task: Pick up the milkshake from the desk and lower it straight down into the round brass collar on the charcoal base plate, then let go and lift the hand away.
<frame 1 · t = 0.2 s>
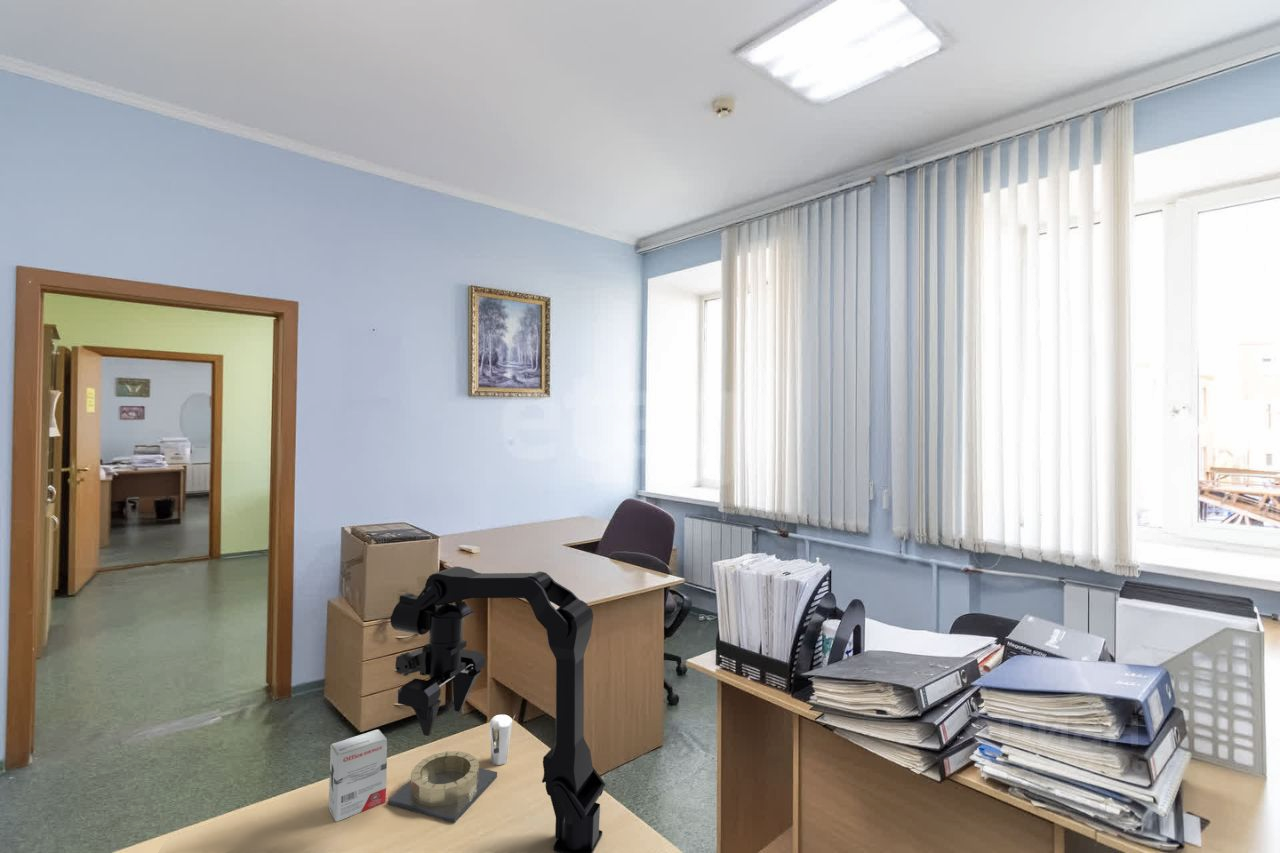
hand: (442, 722, 107), 14 cm above the table, tool pointing down, fingers open, 9 cm apart
ink box: (357, 806, 105), on the table
collar station: (444, 790, 110), on the table
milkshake: (501, 762, 120), on the table
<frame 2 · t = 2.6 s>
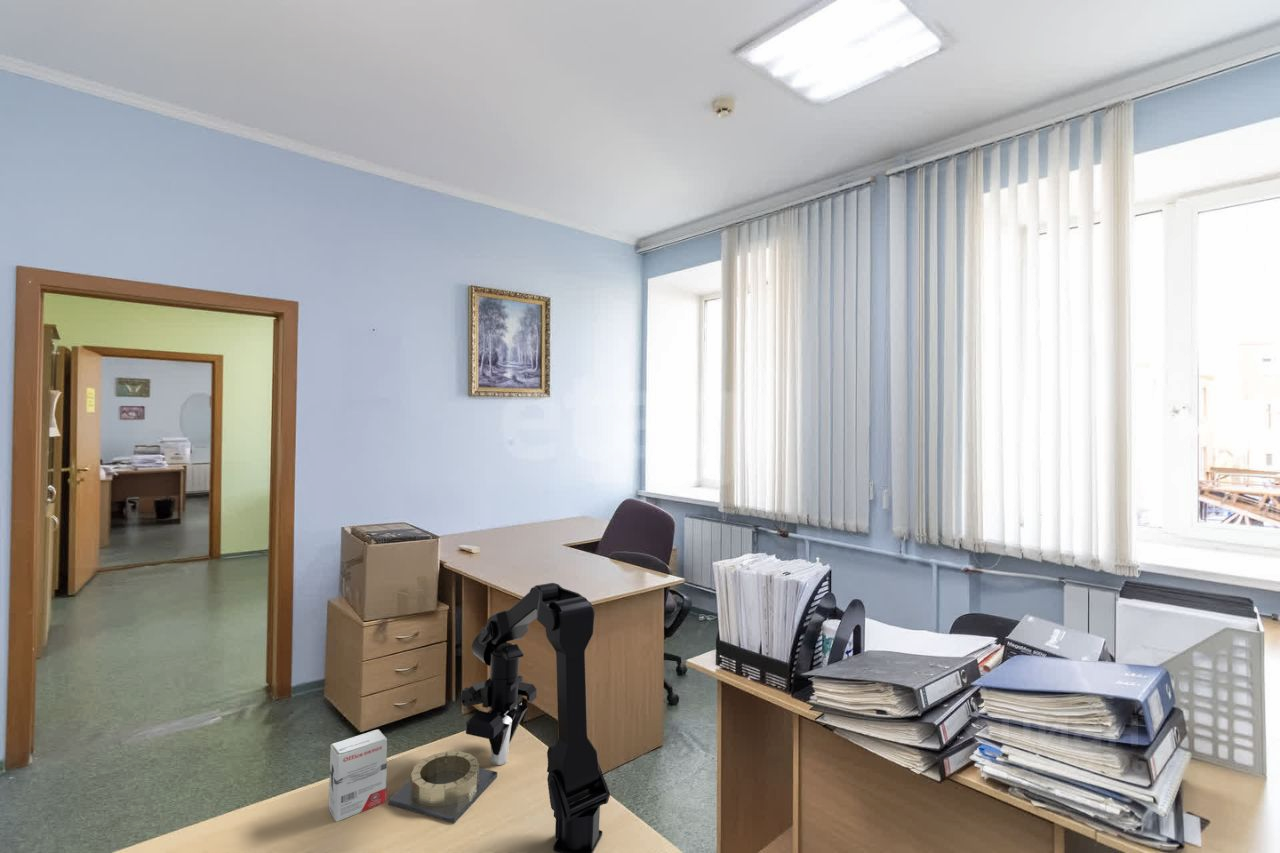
hand: (501, 749, 120), 3 cm above the table, tool pointing down, fingers closed on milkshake, 4 cm apart
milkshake: (501, 762, 120), on the table, touching gripper
everything else where it was.
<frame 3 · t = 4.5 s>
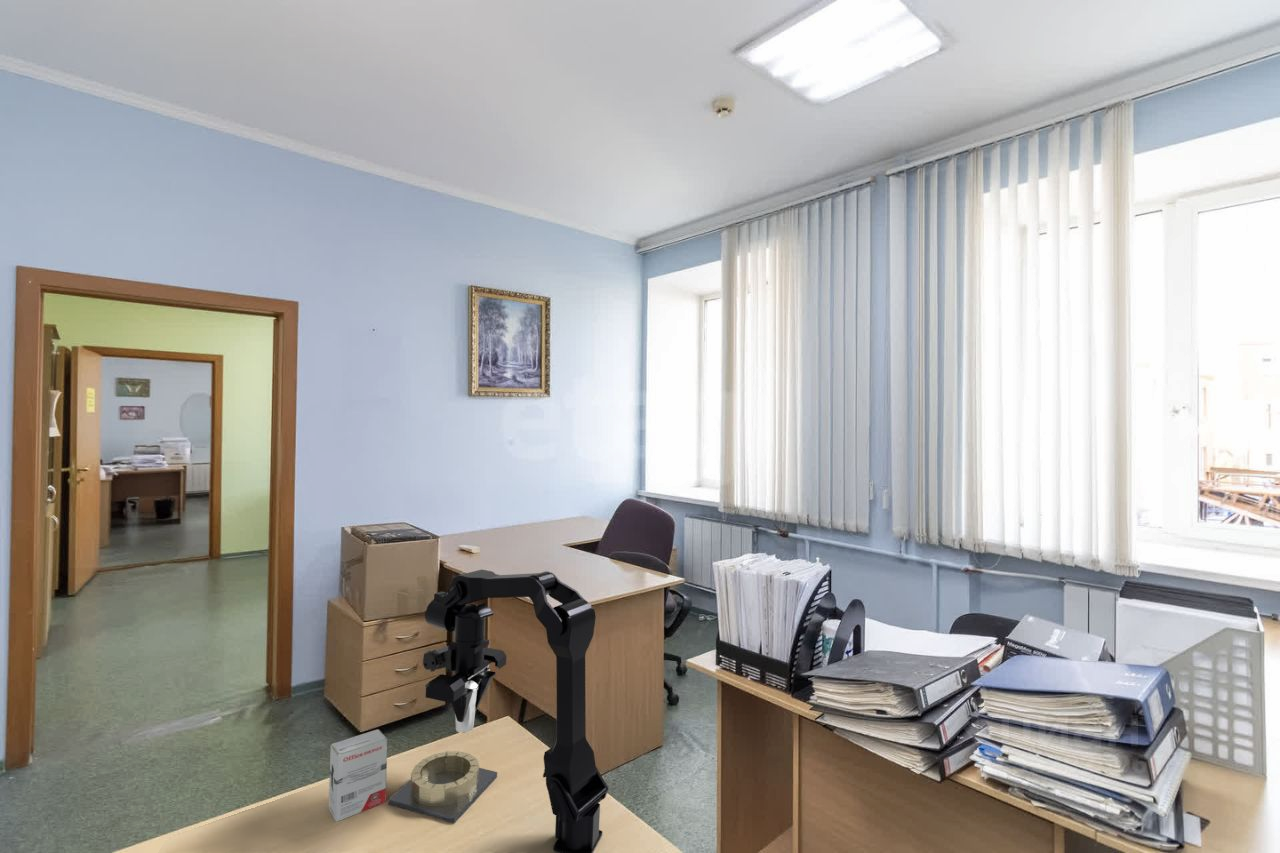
hand: (466, 716, 113), 12 cm above the table, tool pointing down, fingers closed on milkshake, 4 cm apart
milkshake: (466, 730, 113), point 10 cm above the table, touching gripper
everything else where it was.
when the fingers open (5 cm above the table, at t = 6.5 s): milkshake drops 1 cm, resting on collar station.
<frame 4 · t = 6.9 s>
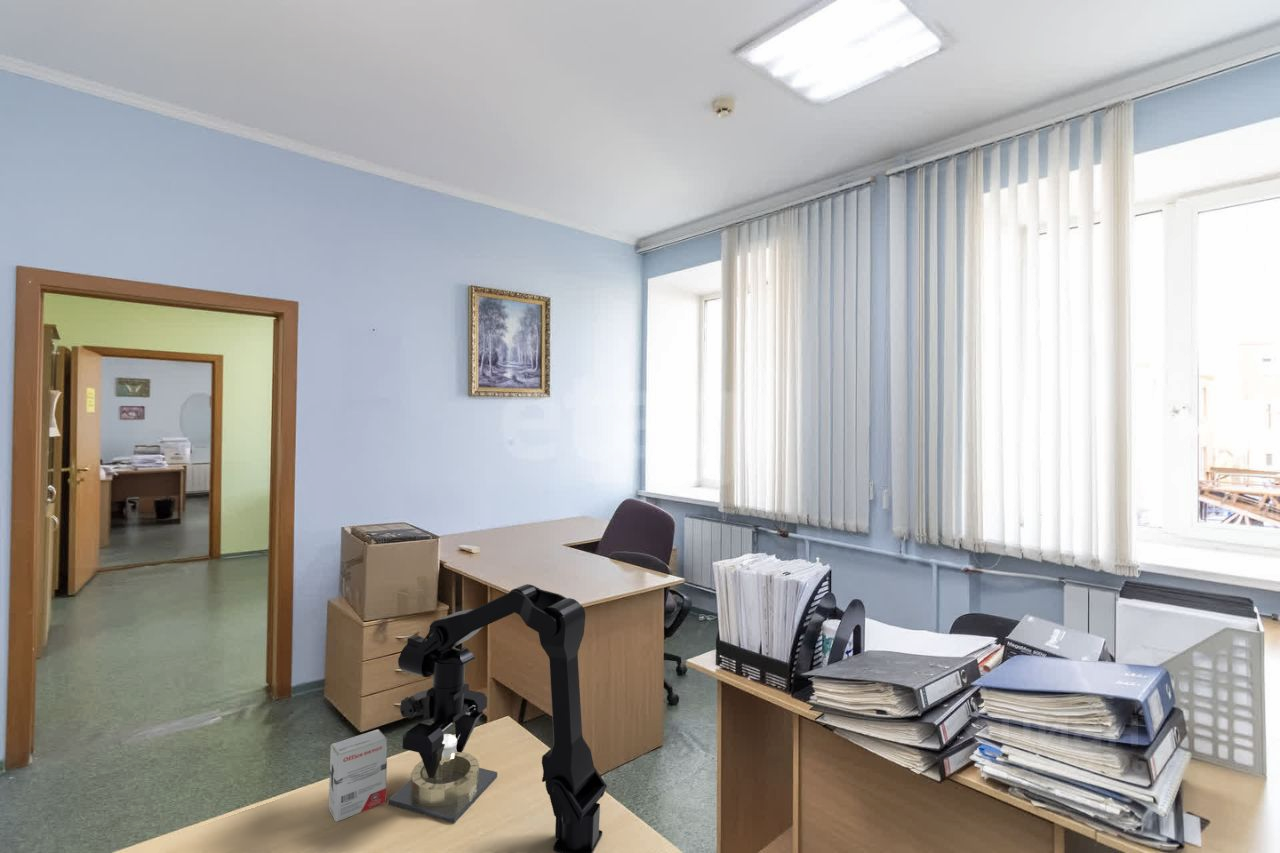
hand: (446, 764, 110), 5 cm above the table, tool pointing down, fingers open, 8 cm apart
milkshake: (445, 786, 110), point 1 cm above the table, touching collar station
everything else where it was.
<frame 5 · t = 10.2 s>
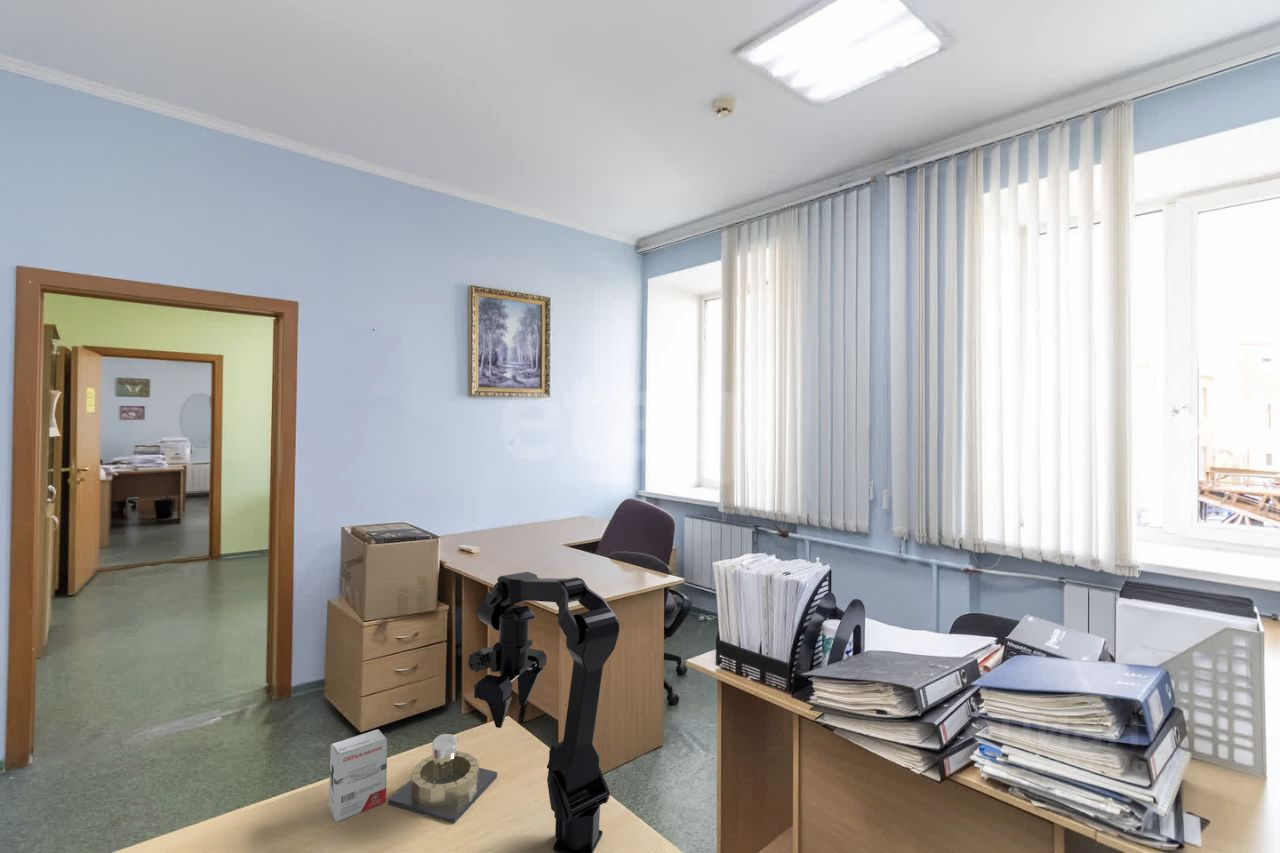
hand: (510, 715, 115), 12 cm above the table, tool pointing down, fingers open, 9 cm apart
nothing on the table moved.
at the end: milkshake 0.1 cm off-centre on the collar station, point 0.8 cm above the collar station's base; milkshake tilted 0°; the gripper is holding nothing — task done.
